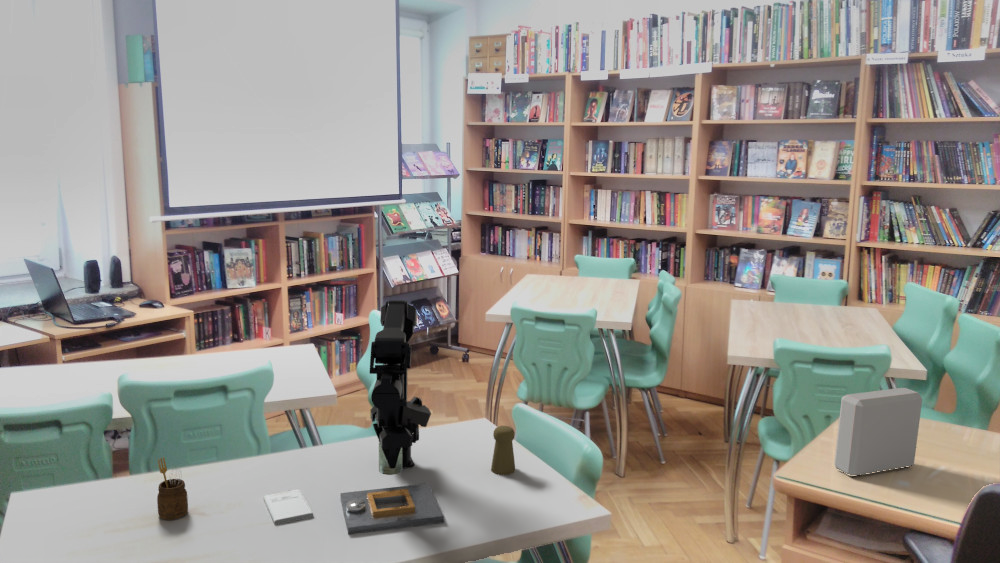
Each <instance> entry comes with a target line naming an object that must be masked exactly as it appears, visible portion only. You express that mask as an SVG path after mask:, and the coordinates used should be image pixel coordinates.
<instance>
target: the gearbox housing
mask: <svg viewBox="0 0 1000 563" xmlns="http://www.w3.org/2000/svg"><path fill="white" fill-rule="evenodd" d="M339 495H340V503H341V507H342V512H343V516H344V521H345V526H346V530H347V534H348V535H355V534H356V535H357V534H365V533H370V532H371V533H372V532H378V531H387V530H394V529H403V528H409V527H419V526H426V525H427V526H428V525H433V524H443V523H445V522H444V520H445V519H444V518H445V516H444V514H443V511H442V509H441V507H440V505H439V503H438V501H437V499H436V496H435V495H434V492H433V491H432V488H431V486H430V484H429V483H427V482H426V483H419V484H411V485H410V484H409V485H402V486H401V485H400V486H390V487H384V488H375V489H365V490H356V491H347V492H340V494H339ZM402 502H403V503H404V505H403V506H401V505H400V506H394V507H393V506H392V507H386V508H385V507H384V508H378V507H377V505H386V504H393V503H402Z"/></svg>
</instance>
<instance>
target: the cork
mask: <svg viewBox="0 0 1000 563" xmlns="http://www.w3.org/2000/svg"><path fill="white" fill-rule="evenodd" d="M495 427H496V426H495ZM515 433H516V432H515V429H514V428H513V427H511V426H509V425H499V426H497V427H496V428H494V430H493V439H494V440H495V441H494V442H495V443H494V449H493V454H492V461H491V468H490V471H491V472H492V473H493V474H495V475H498V474H499V476H508V475H512V474H514V473H515V472H516V463H515V462H516V461H515V453H514V446H513V445H514V444H513V441H514V439H515Z"/></svg>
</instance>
